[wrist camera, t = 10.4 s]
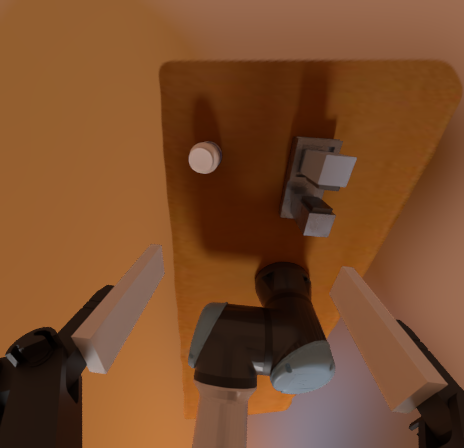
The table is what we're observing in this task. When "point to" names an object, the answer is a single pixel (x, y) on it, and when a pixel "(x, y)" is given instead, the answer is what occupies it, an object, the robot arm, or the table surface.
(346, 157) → the long gray rectangular block
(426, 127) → the table surface
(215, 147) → the pill bottle
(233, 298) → the table surface
